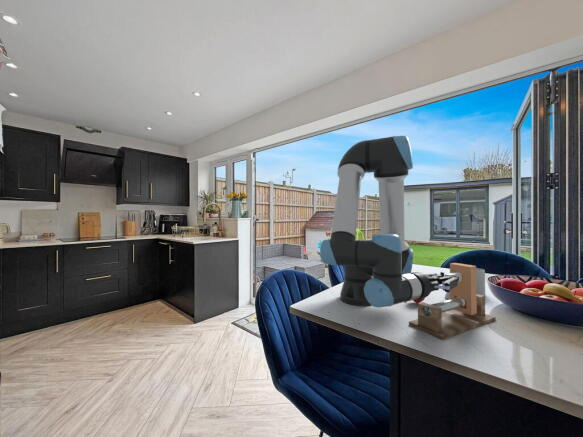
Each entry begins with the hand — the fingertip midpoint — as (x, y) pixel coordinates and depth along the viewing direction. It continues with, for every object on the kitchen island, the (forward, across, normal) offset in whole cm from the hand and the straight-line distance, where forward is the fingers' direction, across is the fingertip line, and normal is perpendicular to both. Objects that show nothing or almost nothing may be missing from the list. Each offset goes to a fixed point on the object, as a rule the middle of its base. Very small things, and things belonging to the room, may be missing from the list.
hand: (459, 276), depth 82 cm
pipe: (-4, 0, -10) cm, 11 cm away
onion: (+2, -17, -15) cm, 23 cm away
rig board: (-4, 0, -14) cm, 15 cm away
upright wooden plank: (+2, 0, -12) cm, 12 cm away
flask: (+20, -13, -15) cm, 28 cm away
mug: (+34, -15, -15) cm, 40 cm away
